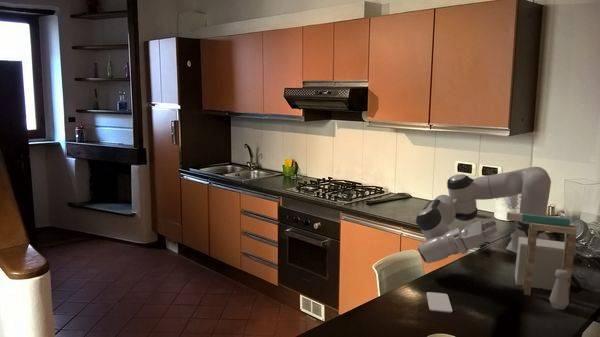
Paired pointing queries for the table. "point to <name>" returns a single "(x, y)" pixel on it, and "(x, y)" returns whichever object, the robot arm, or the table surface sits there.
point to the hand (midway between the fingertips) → (495, 225)
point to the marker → (538, 219)
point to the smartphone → (439, 302)
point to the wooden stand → (531, 247)
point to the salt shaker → (560, 290)
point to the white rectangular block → (540, 262)
